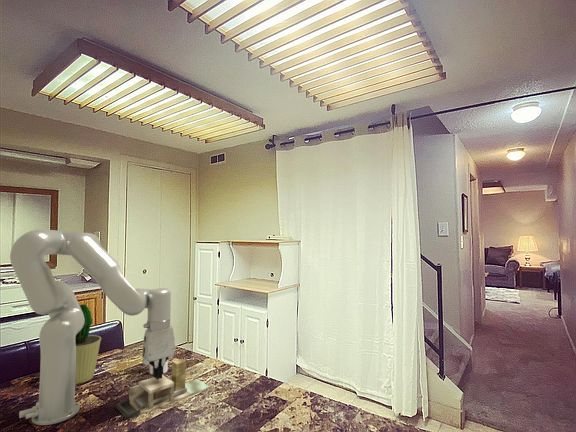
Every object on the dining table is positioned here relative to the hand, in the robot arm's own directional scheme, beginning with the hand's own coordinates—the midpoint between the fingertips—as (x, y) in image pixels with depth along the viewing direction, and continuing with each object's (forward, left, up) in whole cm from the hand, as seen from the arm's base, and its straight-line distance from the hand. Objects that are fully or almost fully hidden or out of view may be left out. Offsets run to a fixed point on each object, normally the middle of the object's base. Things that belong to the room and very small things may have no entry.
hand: (158, 377), depth 116 cm
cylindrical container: (+11, +24, -8) cm, 28 cm away
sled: (+2, 0, -7) cm, 7 cm away
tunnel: (+2, 0, -8) cm, 8 cm away
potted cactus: (-15, +40, -8) cm, 43 cm away
